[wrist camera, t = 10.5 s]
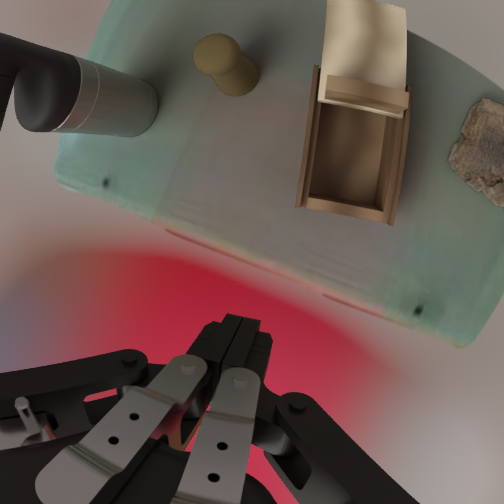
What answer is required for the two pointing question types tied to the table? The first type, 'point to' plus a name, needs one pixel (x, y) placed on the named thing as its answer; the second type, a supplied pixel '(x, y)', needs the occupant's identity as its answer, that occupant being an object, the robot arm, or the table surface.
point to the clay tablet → (482, 150)
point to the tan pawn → (225, 64)
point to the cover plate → (365, 57)
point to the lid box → (352, 159)
